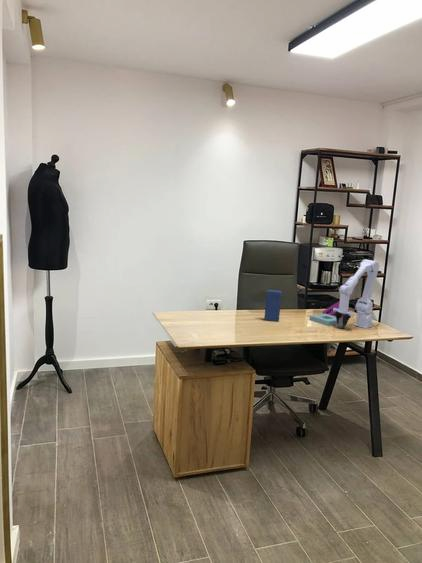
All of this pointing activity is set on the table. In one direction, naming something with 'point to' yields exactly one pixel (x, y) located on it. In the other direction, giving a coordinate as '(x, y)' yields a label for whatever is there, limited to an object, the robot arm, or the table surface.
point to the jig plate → (324, 319)
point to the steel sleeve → (341, 323)
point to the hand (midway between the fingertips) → (341, 324)
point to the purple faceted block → (330, 309)
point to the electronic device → (273, 305)
